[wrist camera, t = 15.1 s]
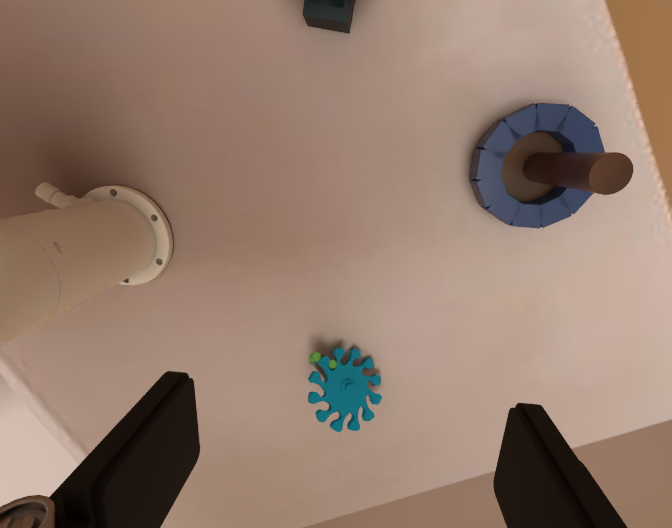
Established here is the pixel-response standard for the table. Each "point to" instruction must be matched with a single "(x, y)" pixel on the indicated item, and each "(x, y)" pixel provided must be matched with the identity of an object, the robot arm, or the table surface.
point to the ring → (500, 139)
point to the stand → (560, 169)
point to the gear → (343, 388)
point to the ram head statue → (329, 14)
